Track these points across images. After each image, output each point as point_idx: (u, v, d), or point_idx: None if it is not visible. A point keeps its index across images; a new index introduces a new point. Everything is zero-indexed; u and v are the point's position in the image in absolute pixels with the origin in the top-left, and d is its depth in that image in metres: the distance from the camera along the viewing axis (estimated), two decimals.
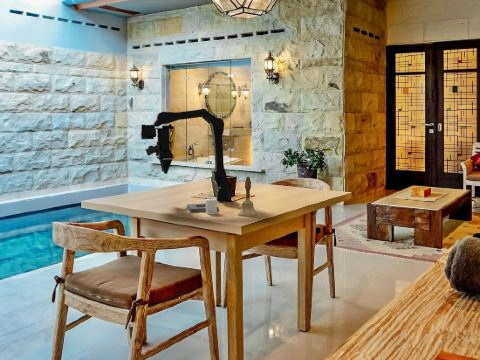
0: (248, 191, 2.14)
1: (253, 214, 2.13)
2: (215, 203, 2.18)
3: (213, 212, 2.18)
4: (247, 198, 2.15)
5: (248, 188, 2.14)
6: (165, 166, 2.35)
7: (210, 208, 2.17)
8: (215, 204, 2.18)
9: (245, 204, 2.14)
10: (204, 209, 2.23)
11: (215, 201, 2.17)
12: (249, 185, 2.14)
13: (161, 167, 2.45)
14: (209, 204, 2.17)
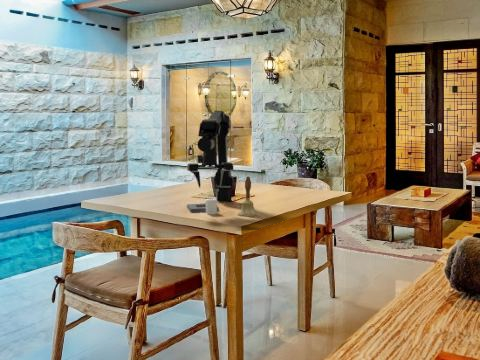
0: (248, 191, 2.14)
1: (253, 214, 2.13)
2: (215, 203, 2.18)
3: (213, 212, 2.18)
4: (247, 198, 2.15)
5: (248, 188, 2.14)
6: (196, 179, 2.17)
7: (210, 208, 2.17)
8: (215, 204, 2.18)
9: (245, 204, 2.14)
10: (204, 209, 2.23)
11: (215, 201, 2.17)
12: (249, 185, 2.14)
13: (220, 181, 2.20)
14: (209, 204, 2.17)
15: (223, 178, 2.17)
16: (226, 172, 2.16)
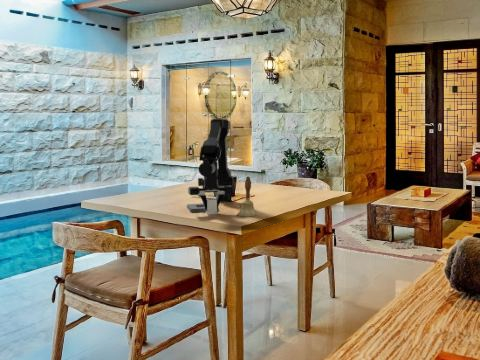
0: (248, 191, 2.14)
1: (253, 214, 2.13)
2: (215, 203, 2.17)
3: (213, 212, 2.18)
4: (247, 198, 2.15)
5: (248, 188, 2.14)
6: (203, 202, 2.18)
7: (210, 208, 2.17)
8: (215, 204, 2.18)
9: (245, 204, 2.14)
10: (204, 209, 2.23)
11: (215, 201, 2.17)
12: (249, 185, 2.14)
13: None
14: (209, 204, 2.17)
15: (218, 202, 2.18)
16: (221, 196, 2.17)
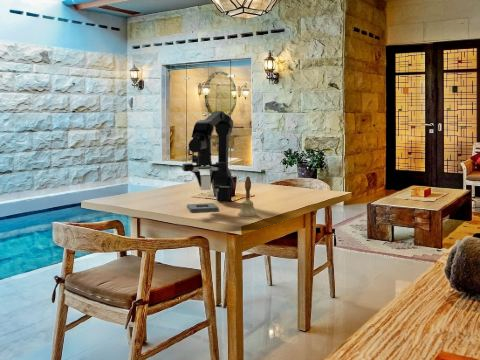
0: (248, 191, 2.14)
1: (253, 214, 2.13)
2: (208, 179, 2.23)
3: (207, 188, 2.23)
4: (247, 198, 2.15)
5: (248, 188, 2.14)
6: (197, 178, 2.24)
7: (204, 184, 2.23)
8: (209, 180, 2.23)
9: (245, 204, 2.14)
10: (204, 209, 2.23)
11: (209, 177, 2.23)
12: (249, 185, 2.14)
13: None
14: (203, 180, 2.22)
15: (212, 178, 2.23)
16: (215, 172, 2.22)
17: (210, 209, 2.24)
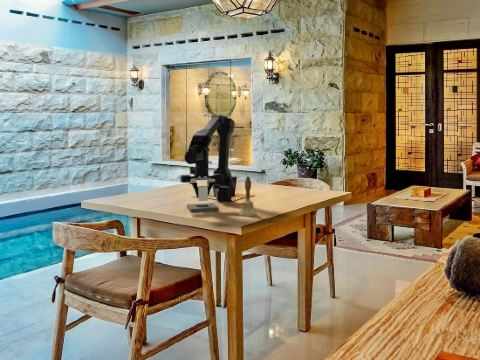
0: (248, 191, 2.14)
1: (253, 214, 2.13)
2: (205, 190, 2.26)
3: (204, 199, 2.27)
4: (247, 198, 2.15)
5: (248, 188, 2.14)
6: (194, 189, 2.27)
7: (201, 195, 2.26)
8: (206, 191, 2.26)
9: (245, 204, 2.14)
10: (204, 209, 2.23)
11: (206, 188, 2.26)
12: (249, 185, 2.14)
13: None
14: (200, 191, 2.26)
15: (209, 189, 2.27)
16: (212, 183, 2.26)
17: (210, 209, 2.24)
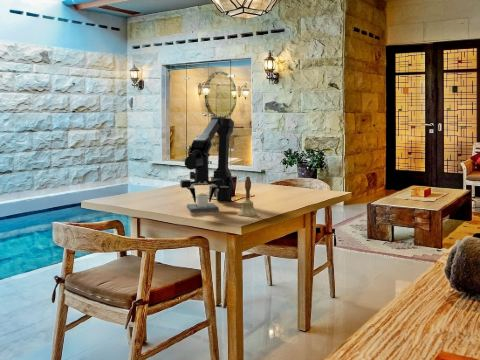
0: (248, 191, 2.14)
1: (253, 214, 2.13)
2: (206, 198, 2.27)
3: None
4: (247, 198, 2.15)
5: (248, 188, 2.14)
6: (192, 195, 2.27)
7: (201, 203, 2.26)
8: (206, 200, 2.27)
9: (245, 204, 2.14)
10: (204, 209, 2.23)
11: (206, 197, 2.27)
12: (249, 185, 2.14)
13: (209, 197, 2.30)
14: (200, 199, 2.26)
15: (211, 194, 2.27)
16: (214, 188, 2.26)
17: (210, 209, 2.24)
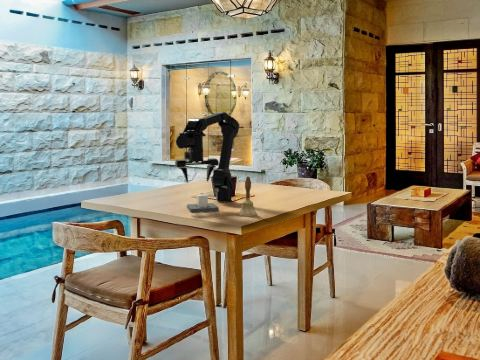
0: (248, 191, 2.14)
1: (253, 214, 2.13)
2: (206, 198, 2.27)
3: None
4: (247, 198, 2.15)
5: (248, 188, 2.14)
6: (184, 174, 2.30)
7: (201, 203, 2.26)
8: (206, 200, 2.27)
9: (245, 204, 2.14)
10: (204, 209, 2.23)
11: (206, 197, 2.27)
12: (249, 185, 2.14)
13: None
14: (200, 199, 2.26)
15: (209, 173, 2.31)
16: (212, 168, 2.30)
17: (210, 209, 2.24)
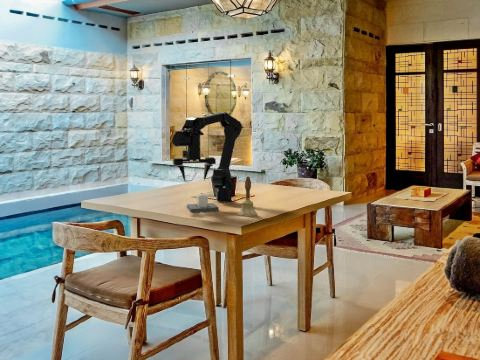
0: (248, 191, 2.14)
1: (253, 214, 2.13)
2: (206, 198, 2.27)
3: None
4: (247, 198, 2.15)
5: (248, 188, 2.14)
6: (181, 172, 2.33)
7: (201, 203, 2.26)
8: (206, 200, 2.27)
9: (245, 204, 2.14)
10: (204, 209, 2.23)
11: (206, 197, 2.27)
12: (249, 185, 2.14)
13: (204, 175, 2.36)
14: (200, 199, 2.26)
15: (206, 172, 2.33)
16: (209, 166, 2.32)
17: (210, 209, 2.24)
